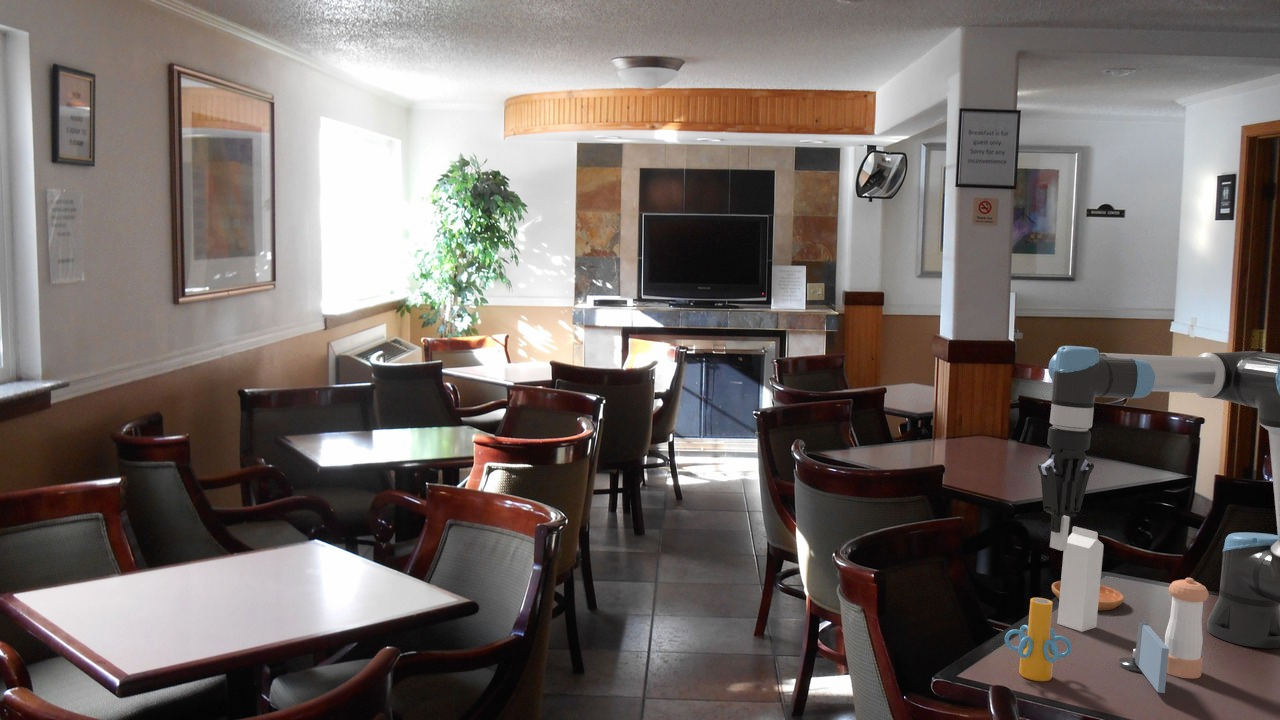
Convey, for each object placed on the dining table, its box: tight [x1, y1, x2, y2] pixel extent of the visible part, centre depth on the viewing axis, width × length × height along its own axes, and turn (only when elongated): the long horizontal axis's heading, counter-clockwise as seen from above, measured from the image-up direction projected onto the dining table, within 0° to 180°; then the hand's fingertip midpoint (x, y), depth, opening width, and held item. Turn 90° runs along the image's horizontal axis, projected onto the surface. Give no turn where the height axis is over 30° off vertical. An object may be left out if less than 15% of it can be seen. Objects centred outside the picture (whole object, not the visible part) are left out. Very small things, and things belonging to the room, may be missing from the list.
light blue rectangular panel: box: [1135, 620, 1169, 694], centre depth 203 cm, size 15×1×8 cm, turn 170°
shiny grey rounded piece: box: [1118, 647, 1144, 674], centre depth 212 cm, size 6×6×4 cm
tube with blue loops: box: [1004, 597, 1073, 682], centre depth 205 cm, size 12×10×15 cm
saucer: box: [1051, 580, 1125, 611], centre depth 253 cm, size 16×16×3 cm
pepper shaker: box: [1164, 577, 1210, 680], centre depth 210 cm, size 7×7×19 cm
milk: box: [1057, 525, 1104, 633], centre depth 234 cm, size 6×6×22 cm
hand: (1058, 548), depth 203 cm, fingers closed
